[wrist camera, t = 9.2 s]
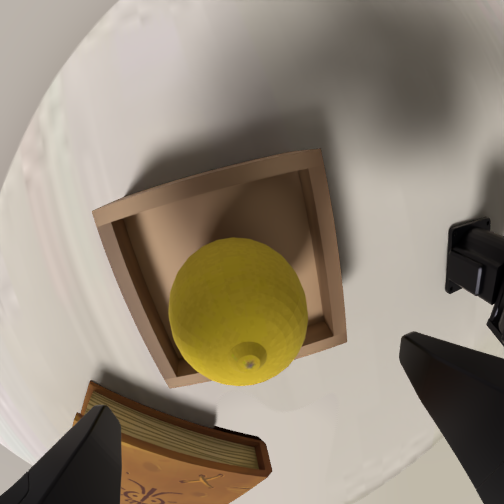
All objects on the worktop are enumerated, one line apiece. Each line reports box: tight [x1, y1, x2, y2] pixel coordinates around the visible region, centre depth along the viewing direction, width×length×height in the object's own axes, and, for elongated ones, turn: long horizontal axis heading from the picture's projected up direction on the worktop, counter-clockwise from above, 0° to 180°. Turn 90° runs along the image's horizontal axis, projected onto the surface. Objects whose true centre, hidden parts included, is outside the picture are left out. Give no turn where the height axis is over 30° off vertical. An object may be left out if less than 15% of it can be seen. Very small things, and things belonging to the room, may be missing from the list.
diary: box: [73, 381, 272, 504], centre depth 23 cm, size 23×19×6 cm
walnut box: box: [92, 148, 347, 388], centre depth 17 cm, size 11×11×6 cm
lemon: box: [169, 237, 308, 386], centre depth 12 cm, size 6×6×8 cm
